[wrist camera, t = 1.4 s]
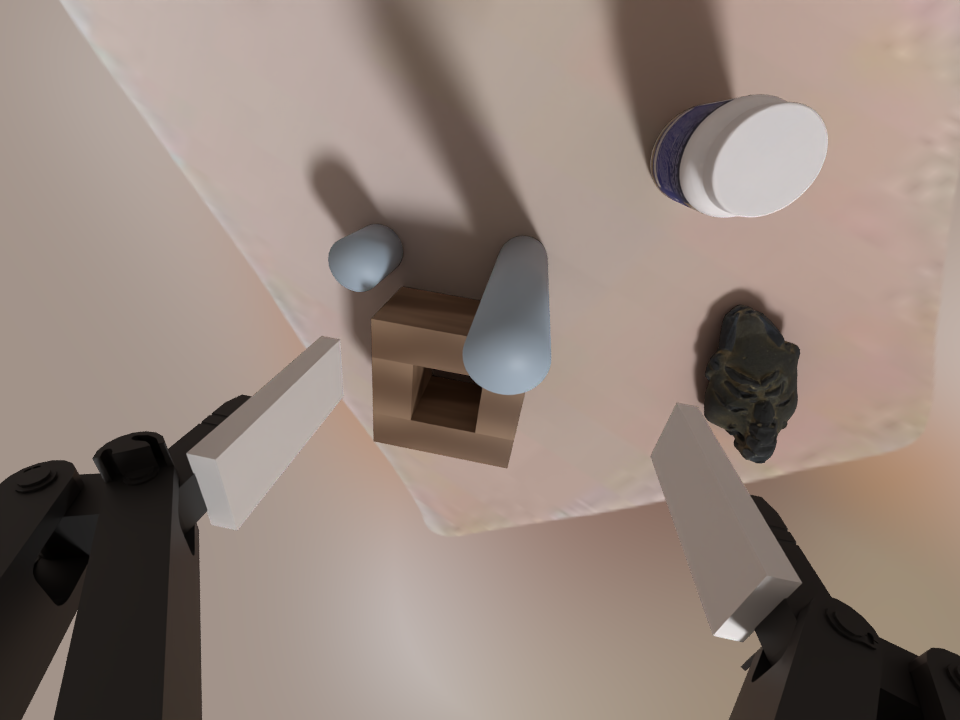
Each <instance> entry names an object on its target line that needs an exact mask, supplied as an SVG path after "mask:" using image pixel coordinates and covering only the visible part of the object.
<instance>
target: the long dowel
mask: <svg viewBox="0 0 960 720" xmlns="http://www.w3.org/2000/svg"><path fill="white" fill-rule="evenodd" d="M463 362H464V366H465V368H466V371H467V372H468V374H469V375H470V377H471V378H472V379H473V380H474V381H475V382H476V383H477V384H478V385H479V386H481V387H483V388H484V389H486V390H488V391H491V392H493V393H497V394H503V395H515V394H521V393H524V392H527V391H529V390H531V389H533V388H535V387H536V386H537V385H539V384H540V383H541V382H542V381H543V379H544V378H545V377H546V375H547V373H548V371H549V368H550V364H551V338H550V311H549V283H548V258H547V253H546V250H545V248H544V246H543V245H542V244H541V243H540V242H539V241H538V240H536V239H534V238H532V237H529V236H517V237H514V238H512V239H510V240H509V241H507V242H506V243H505V244H504V245H503V247H502V248H501V250H500V253H499V255H498V258H497V260H496V263H495V266H494V268H493V271H492V273H491V276H490V278H489V281H488V284H487V286H486V289H485V291H484V294H483V297H482V299H481V302H480V304H479V307H478V310H477V312H476V315H475V317H474V320H473V323H472V325H471V328H470V330H469V333H468V335H467V338H466V341H465V343H464V347H463Z"/></svg>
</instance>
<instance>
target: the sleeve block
mask: <svg viewBox="0 0 960 720" xmlns="http://www.w3.org/2000/svg"><path fill="white" fill-rule="evenodd" d="M480 302H481V301H480V300H474V299H469V298H463V297H458V296H452V295H446V294H441V293H435V292H429V291H424V290H418V289H413V288H407V287H401V288H400V289H399V290H398V291H397V292H396V293H395V294H394V295H393V297H392V298H391V299H390V300H389V301H388V302H387V303H386V304H385V305H384V306H383V307H382V308H381V309H380V310H379V311H378V312H377V313H376V314H375V315H374V316H373V317H372V318H371V337H372V385H373V432H374V441H375V442H380V443H385V444H390V445H395V446H400V447H405V448H409V449H414V450H419V451H424V452H429V453H434V454H439V455H444V456H449V457H454V458H459V459H464V460H469V461H474V462H478V463H483V464H488V465H493V466H498V467H503V468H507V467H508V463H509V459H510V454H511V450H512V446H513V442H514V438H515V433H516V429H517V425H518V421H519V416H520V412H521V408H522V404H523V399H524V395H525V392H524V393H521V394H515V395H503V394H497V393H493V392H491V391H488V390H486V389H484V388H483V387H481V386H479V385H478V384H473V383H468V382H462V381H457V380H452V379H447V378H442V377H436V376H432V369H437V370H443V371H448V372H453V373H458V374H464V375H469V374H468V372H467V371H466V368H465V366H464V362H463V347H464V343H465V341H466V338H467V335H468V333H469V330H470V328H471V325H472V323H473V320H474V317H475V315H476V312H477V310H478V307H479V304H480ZM469 376H470V375H469Z"/></svg>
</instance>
